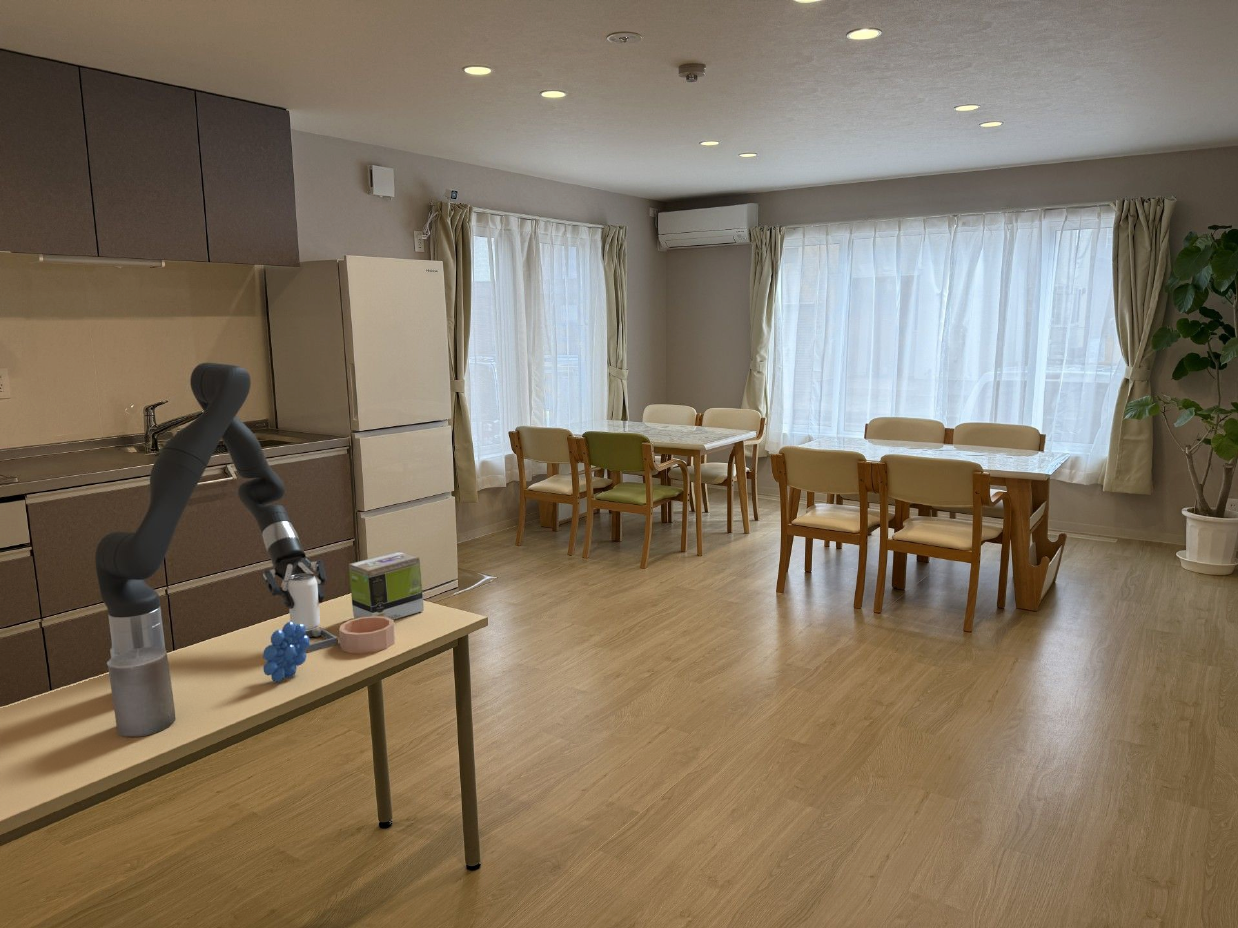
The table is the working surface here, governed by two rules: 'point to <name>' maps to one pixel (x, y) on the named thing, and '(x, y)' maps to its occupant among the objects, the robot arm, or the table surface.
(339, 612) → the table surface
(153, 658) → the pillar candle
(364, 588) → the tea box
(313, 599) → the can
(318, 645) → the tray
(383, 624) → the bowl
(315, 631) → the pebbles
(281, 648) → the blue lumpy cluster
